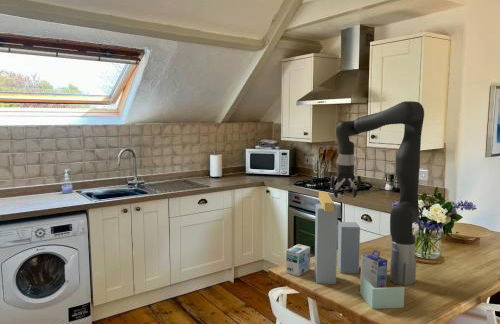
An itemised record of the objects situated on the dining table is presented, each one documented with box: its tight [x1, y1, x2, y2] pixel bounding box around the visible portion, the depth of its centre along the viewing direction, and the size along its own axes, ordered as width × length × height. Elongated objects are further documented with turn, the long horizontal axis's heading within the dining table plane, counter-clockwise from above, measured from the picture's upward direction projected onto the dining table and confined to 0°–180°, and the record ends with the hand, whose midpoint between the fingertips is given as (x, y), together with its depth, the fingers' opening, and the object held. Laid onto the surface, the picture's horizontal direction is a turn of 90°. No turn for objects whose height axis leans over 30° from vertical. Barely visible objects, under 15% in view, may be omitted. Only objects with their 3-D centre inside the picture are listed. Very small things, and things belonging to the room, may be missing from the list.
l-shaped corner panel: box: [359, 275, 406, 310], centre depth 151 cm, size 12×12×8 cm
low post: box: [337, 221, 361, 274], centre depth 180 cm, size 8×8×21 cm
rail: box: [318, 191, 334, 212], centre depth 169 cm, size 22×4×4 cm, turn 176°
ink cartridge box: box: [359, 249, 388, 288], centre depth 164 cm, size 10×6×14 cm, turn 28°
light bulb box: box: [285, 243, 311, 277], centre depth 179 cm, size 11×7×11 cm, turn 143°
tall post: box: [314, 203, 339, 285], centre depth 169 cm, size 8×8×32 cm
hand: (345, 197), depth 190 cm, fingers open, 8 cm apart
